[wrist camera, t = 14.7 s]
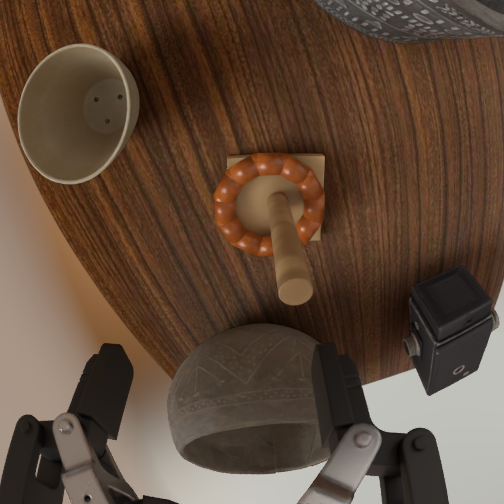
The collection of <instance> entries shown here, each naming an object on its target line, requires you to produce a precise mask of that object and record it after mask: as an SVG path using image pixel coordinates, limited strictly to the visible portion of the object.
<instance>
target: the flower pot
mask: <svg viewBox="0 0 504 504" xmlns="http://www.w3.org/2000/svg"><path fill="white" fill-rule="evenodd" d="M119 95H121V97H118V96H119ZM95 100H97V102H96V101H95ZM139 106H140V101H139V92H138V88H137V85H136V82H135V80H134V78H133V76H132V74H131V73H130V71H129V70H128V68H127V67H126V66H125V65H124V64H123V63H122V62H121V61H120V60H119V59H118V58H117V57H115V56H114V55H113V54H111V53H110V52H108V51H106V50H104V49H102V48H100V47H97V46H95V45H91V44H72V45H68V46H65V47H62V48H60V49H58V50H56V51H54V52H53V53H51V54H50V55H48V56H47V57H46V58H45V59H44V60H42V61H41V62H40V64H39V65H38V66H37V67H36V68H35V70H34V71H33V72H32V74H31V75H30V77H29V79H28V81H27V83H26V85H25V87H24V90H23V92H22V96H21V99H20V103H19V109H18V131H19V137H20V141H21V145H22V147H23V150H24V152H25V154H26V156H27V158H28V160H29V161H30V162H31V164H32V165H33V166H34V168H35V169H36V170H37V171H38V172H39V173H41V174H42V175H43V176H45V177H46V178H48V179H50V180H52V181H54V182H58V183H62V184H78V183H82V182H85V181H88V180H90V179H92V178H94V177H95V176H97V175H98V174H100V173H101V172H102V171H103V170H105V169H106V168H107V167H108V166H109V165H110V164H111V163H112V162H113V161H114V160H115V158H116V157H117V156H118V155H119V154H120V152H121V151H122V150H123V148H124V147H125V145H126V144H127V142H128V140H129V139H130V137H131V135H132V133H133V130H134V128H135V125H136V122H137V119H138V114H139ZM108 120H110V121H108Z"/></svg>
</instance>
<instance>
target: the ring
mask: <svg viewBox="0 0 504 504" xmlns="http://www.w3.org/2000/svg"><path fill="white" fill-rule="evenodd" d="M267 175H280V176H282V177H284V178H286V179H287V180H289V181H291V182H293V183H295V184H296V186H297V187H298V189H299V191H300V192H301V194H302V196H303V198H304V204H303V215H302V216H301V218H300V219H299V220H298V222H297V223H296V229H297V232H298V235H299V239H300V242H301V245H302V246H304V245H306V244H307V243H308V242H309V241H310V240H311V238H312V237H313V235H314V234H315V233H316V231H317V230H318V228H319V227H320V225H321V224H322V222H323V220H324V209H325V191H324V189H323V187H322V186H321V184H320V182H319V180H318V178H317V176H316V174H315V173H314V171H313V169H312V168H311V167H309V166H308V165H306V164H304V163H303V162H301V161H299V160H297V159H296V158H294V157H292V156H290V155H289V154H287V153H254V154H251V155H250V156H248V157H246V158H245V159H243V160H241V161H239V162H238V163H236V164H235V165H233V166H231V167H230V168H228V169H227V170H226V172H225V174H224V176H223V177H222V179H221V181H220V183H219V185H218V187H217V189H216V191H215V193H214V196H213V200H214V211H215V221H216V224H217V226H218V227H219V229H220V230H221V231H222V233H223V234H224V235H225V236H226V238H227V239H228V240H229V242H230V243H231V244H232V245H233V246H235V247H237V248H239V249H241V250H244V251H246V252H248V253H250V254H252V255H255V256H274V255H273V247H272V239H271V236H260V235H258V234H256V233H254V232H252V231H250V230H247V229H246V228H245V227H244V226H243V224H242V223H241V221H240V220H239V218H238V217H237V216H236V198H237V197H238V195H239V193H240V191H241V189H242V188H243V186H244V185H245V184H247V183H248V182H250V181H252V180H254V179H255V178H257V177H259V176H267Z"/></svg>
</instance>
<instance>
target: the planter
mask: <svg viewBox="0 0 504 504" xmlns="http://www.w3.org/2000/svg"><path fill="white" fill-rule="evenodd" d="M313 1H314V2H315V3H316V4H317V5H318V6H319V7H321V8H322V9H323V10H324V11H326V12H327V13H328V14H330V15H331V16H332V17H334V18H335V19H337V20H338V21H340V22H342V23H343V24H345V25H347V26H349V27H350V28H352V29H354V30H356V31H358V32H361V33H363V34H365V35H368V36H371V37H373V38H377V39H380V40H384V41H388V42H393V43H403V44H413V43H424V42H433V41H439V40H444V39H462V38H482V37H504V0H313Z"/></svg>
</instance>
